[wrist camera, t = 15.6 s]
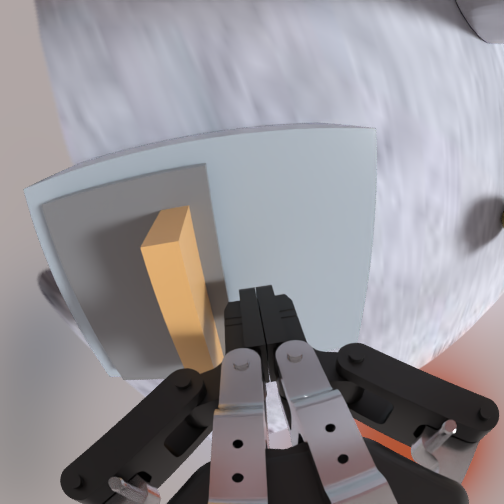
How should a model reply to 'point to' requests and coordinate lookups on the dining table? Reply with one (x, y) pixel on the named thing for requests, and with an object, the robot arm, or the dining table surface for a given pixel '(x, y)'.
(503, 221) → the cup
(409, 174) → the dining table surface
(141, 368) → the lid
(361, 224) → the housing
